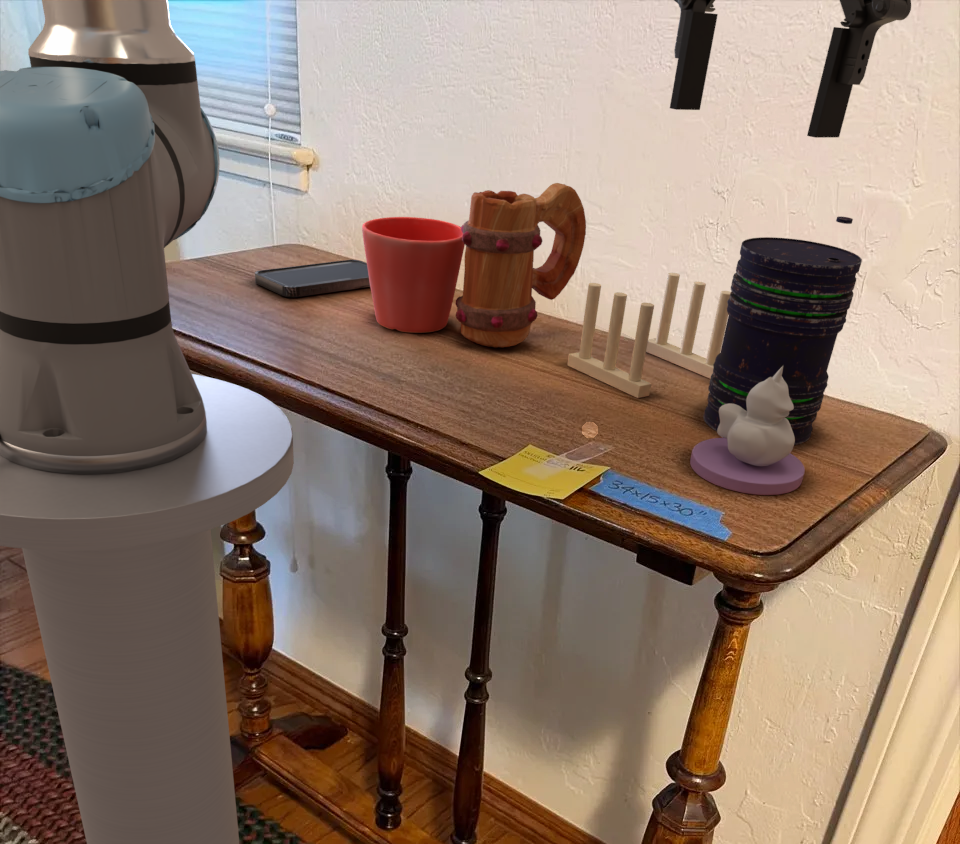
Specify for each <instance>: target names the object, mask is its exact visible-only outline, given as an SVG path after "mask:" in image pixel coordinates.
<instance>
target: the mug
mask: <svg viewBox="0 0 960 844" xmlns="http://www.w3.org/2000/svg"><path fill="white" fill-rule="evenodd" d="M540 223H544V224H545V225H546V226H548V227H549V228H550V229H551V230H553V231H554V239H553V243H552V247H551V251H550V253H549V255H548V257H547V258H546V260H545V262H544V263H543V264H542V265H541V266H539V267H534V260H535V259H534V253H535V250H537V249H538V248H540V247H541V246H542V244H543V238H542V236H541V228H540V226H539V224H540ZM460 227H461V231H462V233H463V235H462V241H463V242H464V244H465V249H464V251H465V252H464V273H463V284H462V285H463V287H462V295H461V296H457V298H456V299H455V306H456V312H455V318H456V320H457V321H458V322H459V323H460V334H461V335H462V336H463V337H464V338H466V339H468V340H469V341H470V342H472V343H475V344H477V345H481V346H483V347H488V348H491V347H492V348H494V349H497V348H500V349H503V348H509V347H513V346H516V345H518V344H520V343H523V342H524V341H525V340H527V338H528V336H529V334H530V331H531V328H532V324H533V323H534V322H535V321H536V320H537V317H538V311H537V309H536V304H537V302H536V300H535V299H534V297H533V296H532V295H533V290H534V292H536V293H537V295H540V296H541V297H544V298H546V299H547V300H549V301H553V300H555V299H556V298H557V297H558V296H559V295H560V294H561V293H562V292H563V290H564V289H565V288H566V286H567V285H568V283H569V282H570V280H571V279H572V277H573V276H574V274H575V273H576V270H577V268H578V265H579V262H580V260H581V256H582V253H583V249H584V246H585V241H586V240H585V239H586V235H587V231H586V230H587V219H586V213H585V208H584V205H583V203H582V199H581V198H580V195H579V194H578V193H577V191H576V189H575V188H573V187H572V186H570V185H567V184H565V183H559V182H554V183H552V184H550V185H549V186H548V187H547V188H546V189H545V190H544V191H543V192H541V194H540V195H538V197H534V196H533V195H531V194H528V193H520V194H518V193H517V192H516V191H512V190H500V191H498V192H495V191H493V190H491V189H489V190H487V189H486V190H483V191H479V192H476V191H475V192H473V193H472V195H471V198H470V207H469V216H468V220H466V221H465V222H464V223H463V224H462V225H461V226H460Z"/></svg>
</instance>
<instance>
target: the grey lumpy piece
mask: <svg viewBox="0 0 960 844" xmlns="http://www.w3.org/2000/svg"><path fill="white" fill-rule="evenodd" d="M782 372H783V366H782V367H781V368H780V369H779V370H778V371H777V373H776V374H775V375H774V376H773V377H769V378H768V379H766V380H765V381H762V382H760V383H758V384H757V385H756V386H755V387H753V388H752V389H751V390H750V392H749V394H748V396H747V399H746V405H747V411H746V410H744V409H743V408H742V407H740V406H738V405H736V404H725V405H722V406H721V407H720V409H719V417H720V424H719V426H718V429H717V431H716V434H717V435H718V436H719V437H720V438H726V439H727V442H728V450H729V452H730V453H731V454H733V455H734V456H735V457H736V458H737V459H738V460H740V461H743V462H745V463H748V464H751V465H754V466H768V465H771V464H773V463H776V462H778V461H780V460H781V459H783V458H785V457H786V456H788V455H789V454H790V453H792V452H793V449H794V447H795V445H794V443H795V437H794V434H793V431H792V428H791V425H790V423H789V421H788V420H787V419H786V418H785V417H787V416H788V415H789V411H791V410H793V409H794V406H793V403H792V401H791V399H790V397H789V391H788V386H787V384H786V382H785V381H784V379H783V377H782Z"/></svg>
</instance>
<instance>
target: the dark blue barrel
mask: <svg viewBox="0 0 960 844" xmlns="http://www.w3.org/2000/svg"><path fill="white" fill-rule="evenodd" d="M853 220H854V219H853V218H852V217H848V216H836V219H835V222H837V223H839V224H846V225H851V224H852V223H853ZM740 245H741V246H740V248H739V249H740V251H739V255H740V258H739V259H738V261H737V264H736V267H735V273H734V274H733V275H732V280H731V285H730V292H731V293H730V297H729V299H728V301H727V304H728V306H727V312H728V314H729V315H728V319H727V324H726V328H725V333H724V337H723V342H722V346H721V351H720V353H719V354H718V355H717V356H716V359H715V362H714V364H713V367H714V368H713V374H712V375H711V379H710V378H709V383H708V394H707V406H706V407H705V409H704V411H703V420H704V422H705V424H706V425H707V426H708V427H709V428H711V429H712V430H713V431H715V432H717V429H718V426H719V424H720V417H719V409H720V407H721V406H722V405H725V404H736V405H738V406H740V407H742V408H743V409H744V410H746V411H747V405H746V399H747V396H748V394H749V392H750V390H751V389H752V388H753V387H755V386H756V385H757V384H758V383H760V382H762V381H765V380H766V379H768V378H769V377H773V376H774V375H775V374H776V373H777V371H778V370H779V369H780V368H781V367H782V366H783V372H782V377H783V379H784V381H785V382H786V384H787V386H788V391H789V397H790V399H791V401H792V403H793V406H794V409H793V410H791V411H789V415H788V416H787V417H785V418H786V419H787V420H788V421H789V423H790V425H791V428H792V431H793V434H794V437H795V443H794V446H798V445H801V444H803V443H806V442H807V441H809V440H810V438H811V437H812V433H813V430H814V428H813V425H814V422H815V421H816V419H817V417H818V412H819V411H820V410H821V407H822V405H823V400H824V396H825V394H824V393H825V391H826V388H828V382H829V381H828V380H829V378H830V377H829V374H828V368H829V366H830V361H831V358H832V355H833V351H834V347H835V344H836V341H837V338H838V334H839V333H840V332H842V330H843V329H844V326H845V323H846V322H847V315H848V310H849V309H850V308H851V304H852V301H853V297H854V294H855V293H854V290H855V287H856V286H855V285H856V282H857V274H858V273H859V272H860V269H861V265H862V262H863V259H862V257H860V256H859V255H858V254H856V253H855V252H852V251H849V250H847V249H844V248H840V247H838V246H834V245H830V244H825V243H822V242H817V241H810V240H805V239H797V238H788V237H774V236H773V237H772V236H771V237H768V236H767V237H763V236H762V237H752V238H747V239H745V240H742V242H741V244H740Z"/></svg>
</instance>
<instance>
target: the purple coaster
mask: <svg viewBox="0 0 960 844" xmlns="http://www.w3.org/2000/svg"><path fill="white" fill-rule="evenodd" d="M689 464H690V467H691V469H692V470H693V471H694V473H695V474H697V475H698V476H699V477H700V478H701V479H703V480H705V481H707V482H709V483H711V484H713V485H715V486H718V487H721V488H723V489H727V490H730V491H733V492H737V493H743V494H748V495H759V496H775V495H776V496H779V495H783V494H788V493H791V492H793V491H795V490H797V489H798V488H799V487H800V486H801V485H802V483H803V480H804V477H805V472H806V469H805V465H804V463H803V462H802V461H801V460H800V459H799V458H798V457H797V456H795V455H794V454H792V452H790V454H789V455H788V456H786V457H785V458H783V459H781V460H780V461H778V462H776V463H773V464H771V465H768V466H754V465H751V464H748V463H745V462H743V461H740V460H738V459H737V458H736V457H735V456H734V455H733V454H731V453H730V452H729V450H728V442H727V439H726V438H723V437H714V438H709V439H705V440H704V439H703V440H702V441H699V442H698V443H697V444H695V445H694V447H693V448H692V449H691V454H690V459H689Z"/></svg>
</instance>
